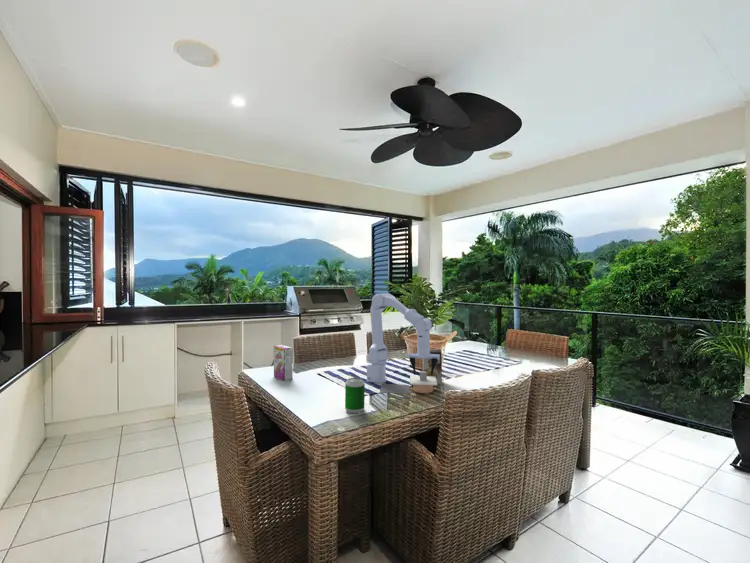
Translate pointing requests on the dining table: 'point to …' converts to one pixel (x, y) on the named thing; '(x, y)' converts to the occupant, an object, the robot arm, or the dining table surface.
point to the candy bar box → (283, 362)
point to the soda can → (354, 395)
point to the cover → (423, 379)
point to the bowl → (423, 388)
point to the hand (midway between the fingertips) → (423, 374)
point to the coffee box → (438, 367)
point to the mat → (394, 388)
